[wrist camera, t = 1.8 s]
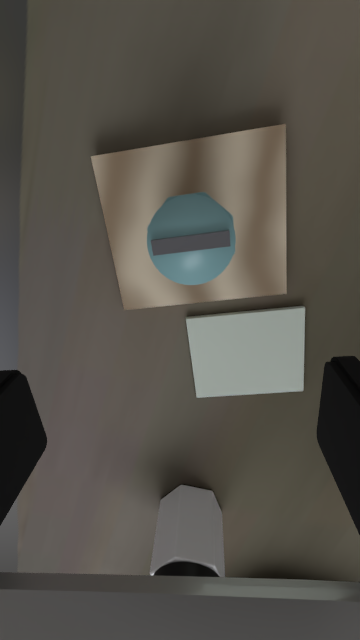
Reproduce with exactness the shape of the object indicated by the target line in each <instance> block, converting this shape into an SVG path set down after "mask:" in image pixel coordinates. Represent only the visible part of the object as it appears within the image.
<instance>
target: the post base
mask: <svg viewBox="0 0 360 640" xmlns="http://www.w3.org/2000/svg"><path fill="white" fill-rule="evenodd" d="M91 159H92V164H93V168H94V173H95V178H96V182H97V187H98V191H99V196H100V201H101V205H102V210H103V214H104V219H105V223H106V228H107V233H108V237H109V242H110V246H111V251H112V255H113V260H114V265H115V269H116V274H117V278H118V283H119V288H120V292H121V297H122V301H123V306H124V310H130V309H140V308H150V307H160V306H170V305H180V304H190V303H199V302H209V301H219V300H229V299H239V298H249V297H258V296H268V295H278V294H287V289H286V124H281V125H275V126H269V127H263V128H257V129H251V130H245V131H239V132H234V133H228V134H222V135H216V136H210V137H204V138H198V139H192V140H186V141H180V142H174V143H168V144H162V145H156V146H150V147H144V148H138V149H132V150H126V151H120V152H114V153H108V154H102V155H96V156H91ZM198 192H204V193H205V192H206V193H207V194H208V195H209V196H211V197H212V198H213V199H214V200H215V201H217V202H218V203H219V204H220V205H221V206H223V207H224V208H225V209H226V210H227V211H228V212H229V213H230V214H231V215H232V216H233V223H234V230H235V236H236V243H235V254H234V255H233V256H232V259H231V261H230V263H229V264H228V266H227V267H226V269H225V270H224V271H223V272H222V273H221V274H220V275H218V276H217V277H216V278H214V279H213V280H211V281H208V282H206V283H203V284H198V285H184V284H179V283H176V282H174V281H172V280H170V279H168V278H167V277H165V276H164V275H163V274H161V273H160V272H159V270H158V269H157V268H156V267H155V265H154V264H153V262H152V260H151V258H150V255H149V252H148V248H147V232H148V231H147V228H148V225H149V224H150V222H151V220H152V218H153V216H154V214H155V213H156V212H157V210H158V209H159V208H160V207H161V206H162V205H163V203H164V202H165V201H166V199H167V198H168V197H172V196H177V195H184V194H191V193H198Z"/></svg>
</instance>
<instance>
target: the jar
mask: <svg viewBox="0 0 360 640" xmlns="http://www.w3.org/2000/svg"><path fill="white" fill-rule="evenodd" d="M150 575H153V576H193V577H225V564H224V544H223V524H222V512H221V509H220V507H219V505H218V502H217V500H216V497H215V495H214V493H213V491H211V490H206V489H201V488H196V487H191V486H187V485H179V486H178V487H177V488H176V489H174V490H173V491H172V492H170V493H169V494H168V495H166V496H165V497H164V498H162V499H161V500H160V506H159V513H158V520H157V526H156V533H155V540H154V547H153V554H152V560H151V567H150Z"/></svg>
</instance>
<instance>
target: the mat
mask: <svg viewBox="0 0 360 640" xmlns="http://www.w3.org/2000/svg"><path fill="white" fill-rule="evenodd" d="M186 324H187V331H188V338H189V345H190V353H191V360H192V367H193V374H194V381H195V389H196V396H197V398H200V397H216V396H232V395H247V394H263V393H279V392H295V391H303V387H304V338H305V307H304V306H295V307H284V308H274V309H264V310H253V311H243V312H232V313H222V314H212V315H201V316H191V317H186Z"/></svg>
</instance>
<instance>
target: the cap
mask: <svg viewBox="0 0 360 640" xmlns="http://www.w3.org/2000/svg"><path fill="white" fill-rule="evenodd" d="M147 231H148V232H147V248H148V252H149V255H150V258H151V260H152V262H153V264H154V265H155V267H156V268H157V269H158V270H159V272H160V273H161V274H163V275H164V276H165V277H167V278H168V279H170V280H172V281H174V282H176V283H179V284H184V285H198V284H203V283H206V282H208V281H211V280H213V279H214V278H216V277H217V276H218V275H220V274H221V273H222V272H223V271H224V270H225V269H226V267H227V266H228V264H229V263H230V261H231V259H232V256H233V255H234V254H235V243H236V236H235V230H234V223H233V216H232V215H231V214H230V213H229V212H228V211H227V210H226V209H225V208H224V207H223V206H221V205H220V204H219V203H218V202H217V201H215V200H214V199H213V198H212V197H211V196H209V195H208V194H207V193H206V192H205V193H204V192H198V193H191V194H184V195H177V196H172V197H168V198H167V199H166V201H165V202H164V203H163V205H162V206H161V207H160V208H159V209H158V210H157V212H156V213H155V214H154V216H153V218H152V220H151V222H150V224H149V225H148V228H147Z"/></svg>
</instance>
